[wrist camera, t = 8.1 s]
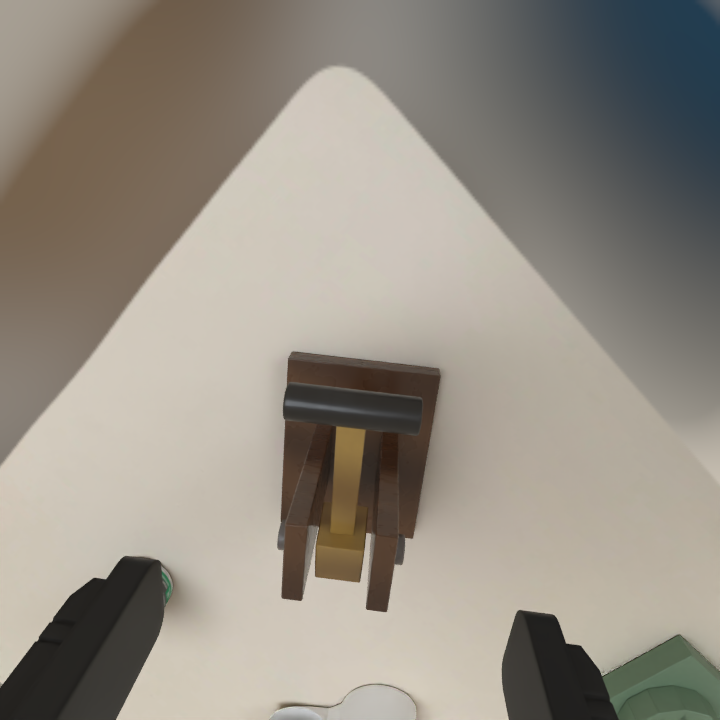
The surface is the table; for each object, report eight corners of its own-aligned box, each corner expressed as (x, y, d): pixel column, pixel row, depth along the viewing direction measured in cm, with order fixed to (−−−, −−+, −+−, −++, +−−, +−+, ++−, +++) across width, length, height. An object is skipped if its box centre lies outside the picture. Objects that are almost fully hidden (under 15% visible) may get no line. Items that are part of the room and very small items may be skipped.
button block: (679, 634, 36) (706, 680, 33) (741, 691, 38) (773, 740, 35) (567, 695, 40) (582, 743, 36) (629, 746, 41) (649, 796, 38)
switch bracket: (291, 351, 30) (239, 443, 20) (439, 368, 30) (459, 470, 20) (284, 510, 35) (238, 651, 25) (412, 527, 35) (418, 675, 25)
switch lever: (292, 365, 19) (278, 409, 17) (423, 380, 19) (423, 426, 17) (295, 529, 26) (286, 573, 24) (391, 542, 26) (388, 586, 24)
